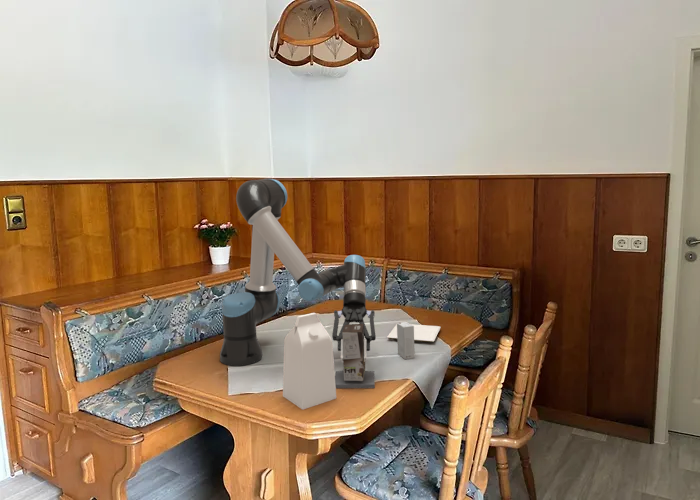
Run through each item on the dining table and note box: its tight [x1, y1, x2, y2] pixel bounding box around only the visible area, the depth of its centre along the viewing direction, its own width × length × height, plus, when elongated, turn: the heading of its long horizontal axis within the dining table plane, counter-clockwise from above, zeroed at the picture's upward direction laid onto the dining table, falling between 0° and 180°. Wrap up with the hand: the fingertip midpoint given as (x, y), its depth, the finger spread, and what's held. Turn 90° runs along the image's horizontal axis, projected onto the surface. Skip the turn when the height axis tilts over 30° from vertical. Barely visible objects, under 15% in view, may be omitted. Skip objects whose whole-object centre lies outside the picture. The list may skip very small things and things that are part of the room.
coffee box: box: [342, 323, 366, 381], centre depth 175 cm, size 9×6×16 cm
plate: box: [386, 323, 441, 344], centre depth 221 cm, size 19×19×2 cm
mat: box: [335, 370, 376, 389], centre depth 178 cm, size 11×13×1 cm
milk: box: [282, 312, 337, 410], centre depth 164 cm, size 12×12×26 cm
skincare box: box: [396, 321, 416, 360], centre depth 198 cm, size 6×4×12 cm
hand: (353, 359), depth 172 cm, fingers closed on coffee box, 7 cm apart
